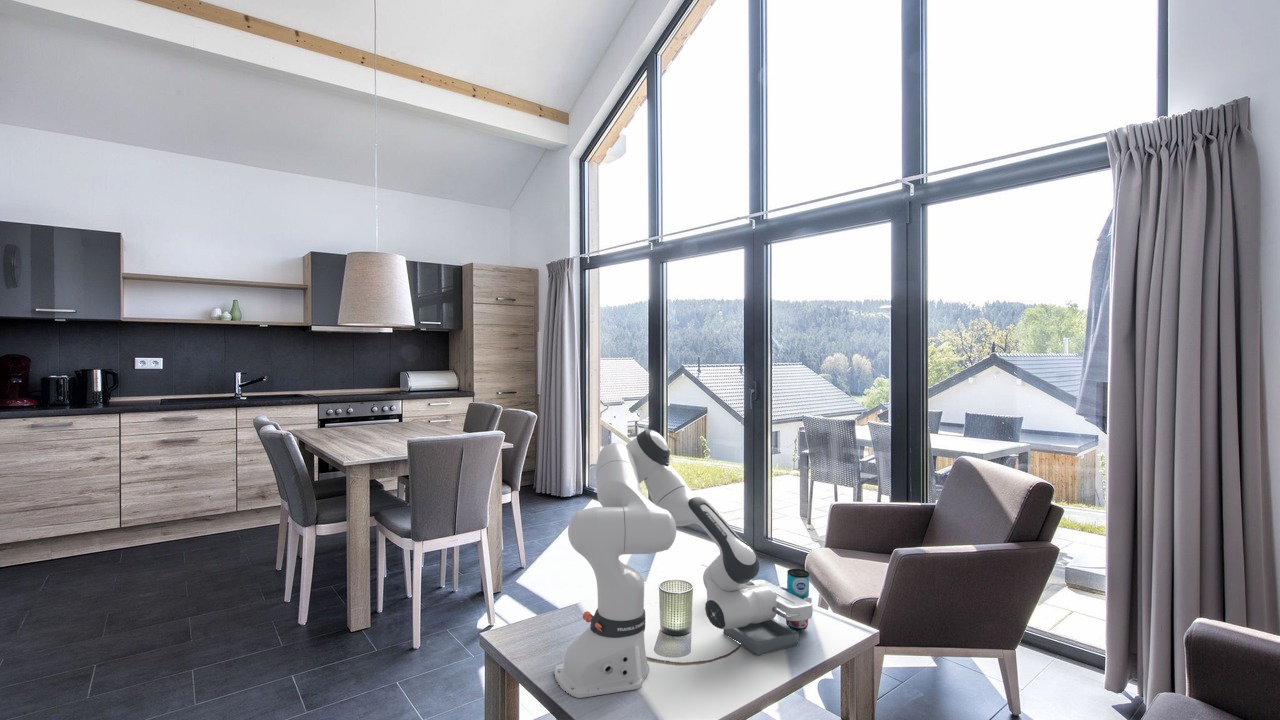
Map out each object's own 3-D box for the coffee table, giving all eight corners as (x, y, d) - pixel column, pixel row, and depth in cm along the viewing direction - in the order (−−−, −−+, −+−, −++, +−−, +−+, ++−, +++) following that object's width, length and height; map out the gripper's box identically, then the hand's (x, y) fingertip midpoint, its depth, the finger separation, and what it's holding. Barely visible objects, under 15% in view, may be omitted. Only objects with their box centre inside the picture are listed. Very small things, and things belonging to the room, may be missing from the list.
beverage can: (789, 630, 166) (790, 576, 166) (783, 621, 172) (784, 568, 172) (810, 631, 166) (812, 576, 166) (804, 621, 172) (805, 568, 172)
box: (757, 656, 154) (757, 644, 154) (723, 633, 166) (723, 622, 166) (798, 644, 161) (798, 633, 161) (763, 623, 173) (763, 612, 173)
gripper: (789, 606, 154) (828, 596, 161) (738, 579, 172) (775, 571, 178) (788, 631, 154) (827, 620, 161) (737, 601, 172) (775, 593, 178)
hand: (800, 594), depth 170 cm, fingers closed on beverage can, 6 cm apart
